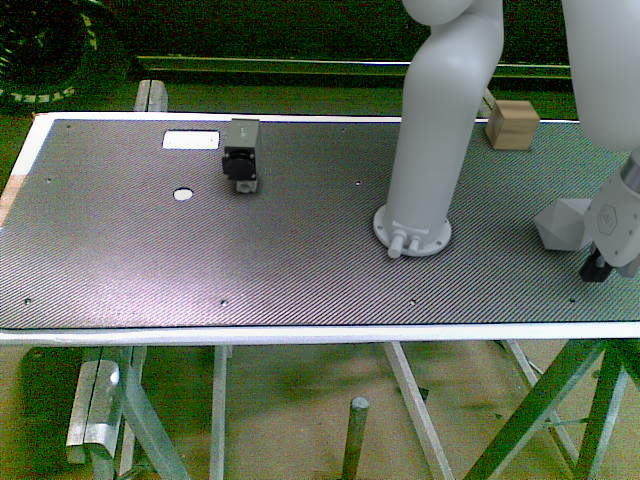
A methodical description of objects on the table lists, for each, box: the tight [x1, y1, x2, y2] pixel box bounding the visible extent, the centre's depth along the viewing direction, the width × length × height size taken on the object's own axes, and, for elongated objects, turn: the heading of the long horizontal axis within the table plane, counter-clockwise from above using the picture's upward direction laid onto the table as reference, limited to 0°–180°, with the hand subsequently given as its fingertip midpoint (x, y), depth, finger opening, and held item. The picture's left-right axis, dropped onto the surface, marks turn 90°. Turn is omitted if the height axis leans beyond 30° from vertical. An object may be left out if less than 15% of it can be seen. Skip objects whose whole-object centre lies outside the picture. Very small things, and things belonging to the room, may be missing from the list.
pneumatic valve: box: [220, 117, 262, 194], centre depth 80 cm, size 6×12×12 cm, turn 0°
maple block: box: [484, 99, 541, 151], centre depth 96 cm, size 7×7×7 cm
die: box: [533, 197, 593, 252], centre depth 74 cm, size 8×9×10 cm
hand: (590, 278), depth 69 cm, fingers closed
